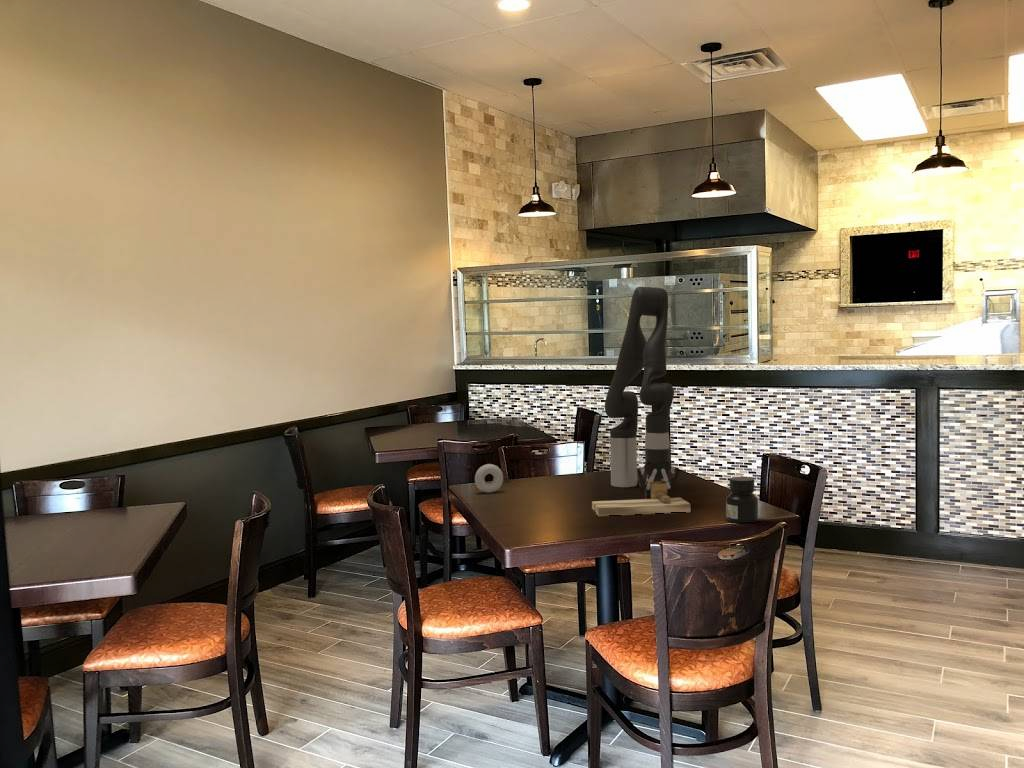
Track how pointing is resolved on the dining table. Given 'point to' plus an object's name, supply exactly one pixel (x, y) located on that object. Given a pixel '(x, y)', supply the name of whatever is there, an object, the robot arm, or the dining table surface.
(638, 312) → the robot arm
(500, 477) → the donut
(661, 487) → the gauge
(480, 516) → the dining table surface
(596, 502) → the board
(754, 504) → the ink bottle
